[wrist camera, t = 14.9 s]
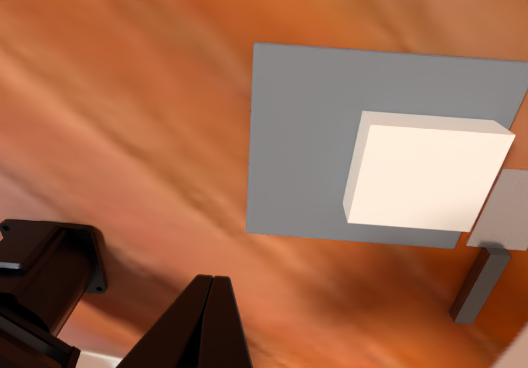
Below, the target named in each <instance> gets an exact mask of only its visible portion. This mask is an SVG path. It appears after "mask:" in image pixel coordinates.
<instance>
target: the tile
mask: <svg viewBox="0 0 528 368" xmlns="http://www.w3.org/2000/svg"><path fill="white" fill-rule="evenodd" d="M514 137H515V135H514V134H513V133H512V132H510V131H509V130H507V129H506V128H504V127H503V126H501V125H500V124H499V123H497V122H496V121H494V120H483V119H469V118H455V117H441V116H428V115H414V114H400V113H386V112H372V111H362V115H361V120H360V124H359V129H358V134H357V138H356V143H355V148H354V152H353V157H352V161H351V166H350V171H349V175H348V180H347V185H346V189H345V194H344V199H343V207H344V211H345V215H346V218H347V222H348V223H356V224H370V225H383V226H396V227H409V228H422V229H436V230H449V231H462V232H470V230H471V228H472V226H473V224H474V222H475V220H476V218H477V216H478V213H479V211H480V209H481V207H482V205H483V203H484V201H485V199H486V197H487V194H488V192H489V190H490V188H491V186H492V184H493V182H494V180H495V178H496V175H497V173H498V171H499V169H500V167H501V165H502V163H503V161H504V159H505V156H506V154H507V152H508V150H509V148H510V146H511V144H512V142H513V140H514Z"/></svg>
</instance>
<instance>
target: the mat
mask: <svg viewBox="0 0 528 368" xmlns="http://www.w3.org/2000/svg"><path fill="white" fill-rule="evenodd" d="M527 89H528V61H516V60H502V59H488V58H474V57H460V56H446V55H432V54H418V53H404V52H390V51H376V50H362V49H349V48H335V47H321V46H307V45H293V44H279V43H265V42H254V52H253V76H252V100H251V124H250V148H249V172H248V196H247V220H246V233H253V234H266V235H279V236H292V237H305V238H318V239H331V240H344V241H357V242H370V243H383V244H396V245H409V246H422V247H435V248H448V249H454V248H455V246H456V243H457V241H458V239H459V237H460V235H461V233H462V231H449V230H436V229H422V228H409V227H396V226H383V225H370V224H356V223H348V222H347V218H346V215H345V211H344V207H343V199H344V194H345V189H346V185H347V180H348V175H349V171H350V166H351V161H352V157H353V152H354V148H355V143H356V138H357V134H358V129H359V124H360V120H361V115H362V111H372V112H386V113H400V114H414V115H428V116H441V117H455V118H469V119H483V120H494V121H496V122H497V123H499V124H500V125H501V126H503V127H504V128H506V129H507V130H509V128H510V126H511V124H512V122H513V120H514V117H515V115H516V113H517V111H518V109H519V107H520V104H521V102H522V100H523V98H524V96H525V93H526V91H527Z"/></svg>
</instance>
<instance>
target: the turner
mask: <svg viewBox="0 0 528 368" xmlns="http://www.w3.org/2000/svg"><path fill="white" fill-rule="evenodd" d="M465 245H466V246H474V247H482V249H481V251H480V253H479V255H478V257H477V259H476V261H475V263H474V265H473V267H472V268H471V270H470V272H469V274H468V276H467V278H466V280H465V282H464V284H463V286H462V288H461V290H460V292H459V294H458V296H457V298H456V300H455V301H454V303H453V305H452V307H451V309H450V311H449V313H450V315H451V317H452V319H453V321H454V322H455V323H467V324H473V322H474V320H475V318H476V317H477V315H478V313H479V312H480V310H481V308H482V306H483V305H484V303H485V301H486V300H487V298H488V296H489V294H490V293H491V291H492V289H493V288H494V286H495V284H496V283H497V281H498V279H499V277H500V276H501V274H502V272H503V271H504V269H505V267H506V265H507V264H508V262H509V260H510V259H511V257H512V256H511V255H510V253H509V252H508V251H507V250H506V249H511V250H523V251H525V250H526V249H527V247H528V169H523V168H509V167H501V168H500V170H499V172H498V175H497V177H496V179H495V181H494V183H493V185H492V187H491V189H490V191H489V193H488V196H487V198H486V200H485V202H484V204H483V206H482V208H481V210H480V212H479V214H478V216H477V219H476V221H475V223H474V225H473V227H472V229H471V231H470V233H469V235H468V237H467V240H466V242H465Z"/></svg>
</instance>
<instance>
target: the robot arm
mask: <svg viewBox="0 0 528 368" xmlns="http://www.w3.org/2000/svg"><path fill="white" fill-rule="evenodd" d="M0 231H1V233H2V236H3V239H2V240H1V241H0V368H75V367H76V364H77V361H78V358H79V355H80V352H81V350H79V349H78V348H76V347H74V346H73V347H71V346H70V345H68V344H67V343H65V342H63V341H62V340H60V339H59V338H57V336H58V334H59V333H60V331H61V329H62V328H63V326H64V325H65V323H66V321H67V320H68V318H69V317H70V315H71V313H72V312H73V310H74V309H75V307H76V305H77V304H78V302H79V301H80V299H81V297H82V296H83V294H84V293H85V292H87V293H100V294H102V293H105V292H106V290H107V288H108V284H107V280H106V276H105V272H104V268H103V264H102V260H101V256H100V252H99V248H98V244H97V240H96V236H95V232H94V230H93V229H92V228H91V227H90V226H87V225H76V224H63V223H50V222H37V221H24V220H11V219H5V220H4V221H2V222H1V223H0ZM85 232H86V233H85ZM116 368H253V366H252V362H251V358H250V354H249V350H248V346H247V342H246V338H245V334H244V330H243V327H242V323H241V319H240V315H239V311H238V307H237V303H236V299H235V295H234V291H233V287H232V284H231V280H230V278H229V277H228V276H214V277H213V276H212V275H203V274H199V275H197V276H196V277H195V278H194V279H193V280H192V281H191V282H190V283H189V285H188V286H187V287H186V288H185V289H184V290H183V291H182V293H181V294H180V295H179V296H178V297H177V298H176V299H175V301H174V302H173V303H172V304H171V305H170V306H169V307H168V308H167V310H166V311H165V312H164V313H163V314H162V315H161V316H160V318H159V319H158V320H157V321H156V322H155V323H154V324H153V326H152V327H151V328H150V329H149V330H148V331H147V332H146V334H145V335H144V336H143V337H142V338H141V339H140V340H139V341H138V343H137V344H136V345H135V346H134V347H133V348H132V349H131V351H130V352H129V353H128V354H127V355H126V356H125V357H124V359H123V360H122V361H121V362H120V363H119V364H118V365H117V367H116Z"/></svg>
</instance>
